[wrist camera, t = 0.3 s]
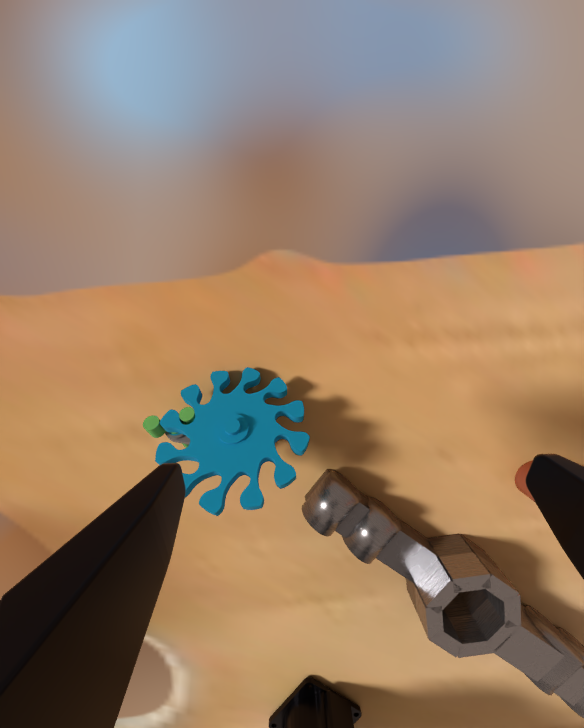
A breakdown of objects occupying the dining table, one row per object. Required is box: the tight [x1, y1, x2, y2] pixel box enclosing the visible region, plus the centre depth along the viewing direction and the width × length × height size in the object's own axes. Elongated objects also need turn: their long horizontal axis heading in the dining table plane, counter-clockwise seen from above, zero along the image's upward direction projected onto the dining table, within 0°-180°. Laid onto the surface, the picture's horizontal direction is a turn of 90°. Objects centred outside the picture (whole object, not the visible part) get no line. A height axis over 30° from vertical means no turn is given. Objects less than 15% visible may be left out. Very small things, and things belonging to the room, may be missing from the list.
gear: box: [143, 367, 310, 516], centre depth 21 cm, size 11×6×10 cm
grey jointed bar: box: [302, 469, 584, 718], centre depth 24 cm, size 7×30×4 cm, turn 54°
